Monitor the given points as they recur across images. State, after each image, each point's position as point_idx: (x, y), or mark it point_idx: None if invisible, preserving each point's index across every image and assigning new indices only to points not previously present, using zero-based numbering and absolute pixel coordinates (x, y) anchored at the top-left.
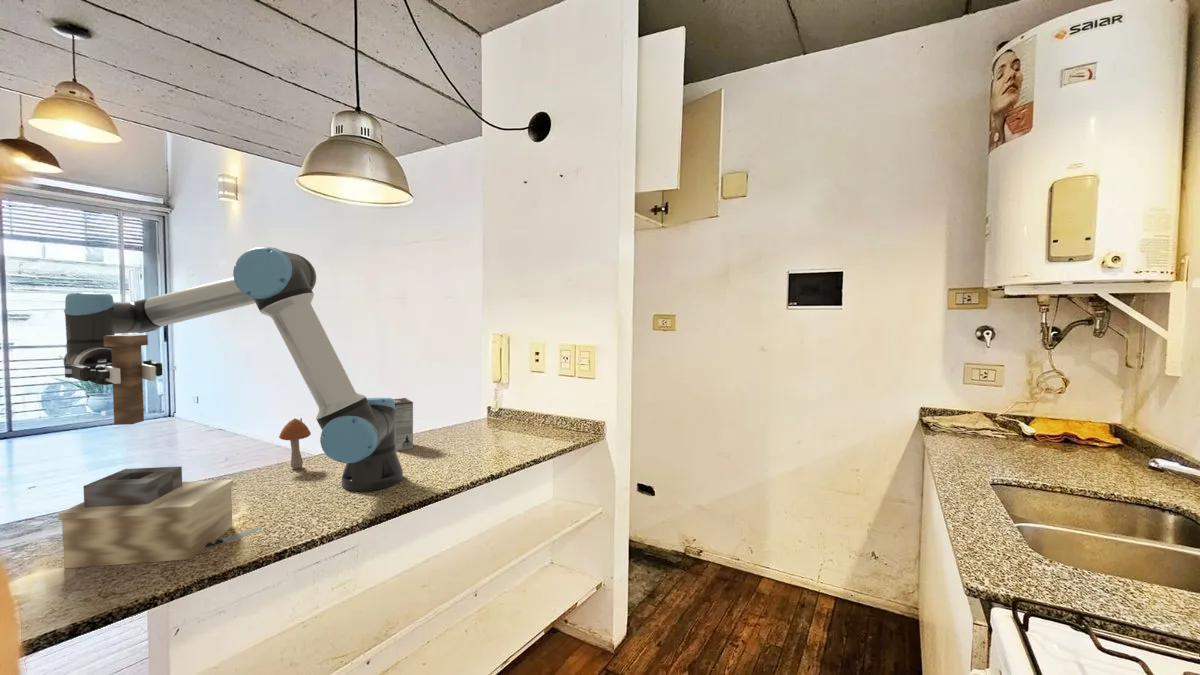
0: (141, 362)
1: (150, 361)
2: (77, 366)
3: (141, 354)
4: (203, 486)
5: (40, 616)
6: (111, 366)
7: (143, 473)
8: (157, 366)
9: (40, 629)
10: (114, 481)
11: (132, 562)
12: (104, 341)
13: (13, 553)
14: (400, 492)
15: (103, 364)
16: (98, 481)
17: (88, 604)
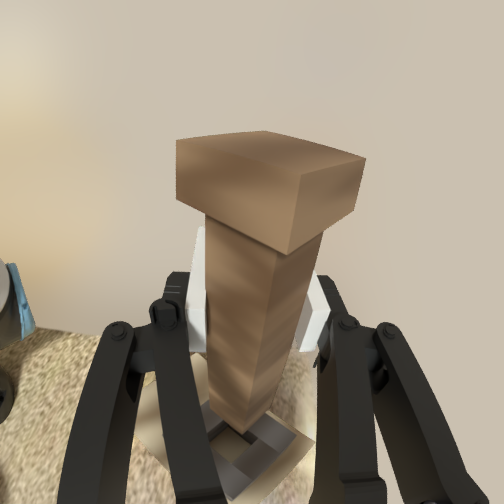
0: (207, 279)
1: (159, 302)
2: (433, 403)
3: (205, 246)
4: (152, 412)
5: (306, 373)
6: (309, 294)
7: (215, 451)
8: (133, 328)
9: (304, 354)
10: (259, 429)
11: None
12: (356, 185)
13: None
14: (10, 348)
15: (349, 464)
16: (278, 447)
17: None
